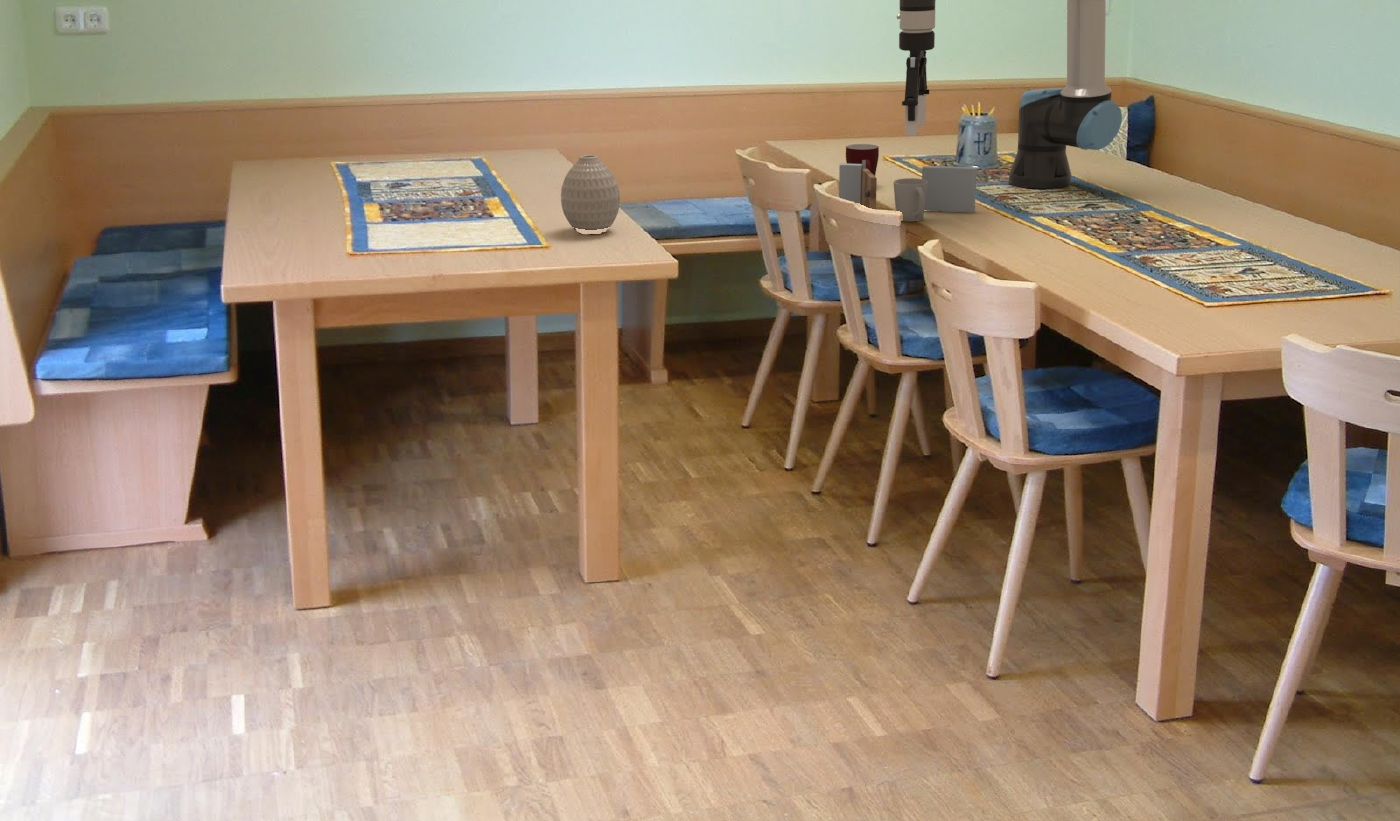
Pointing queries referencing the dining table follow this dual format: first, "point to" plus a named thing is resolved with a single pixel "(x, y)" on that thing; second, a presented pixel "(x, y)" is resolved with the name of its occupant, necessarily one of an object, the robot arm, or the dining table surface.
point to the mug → (863, 155)
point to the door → (868, 189)
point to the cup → (910, 197)
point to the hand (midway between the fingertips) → (915, 130)
